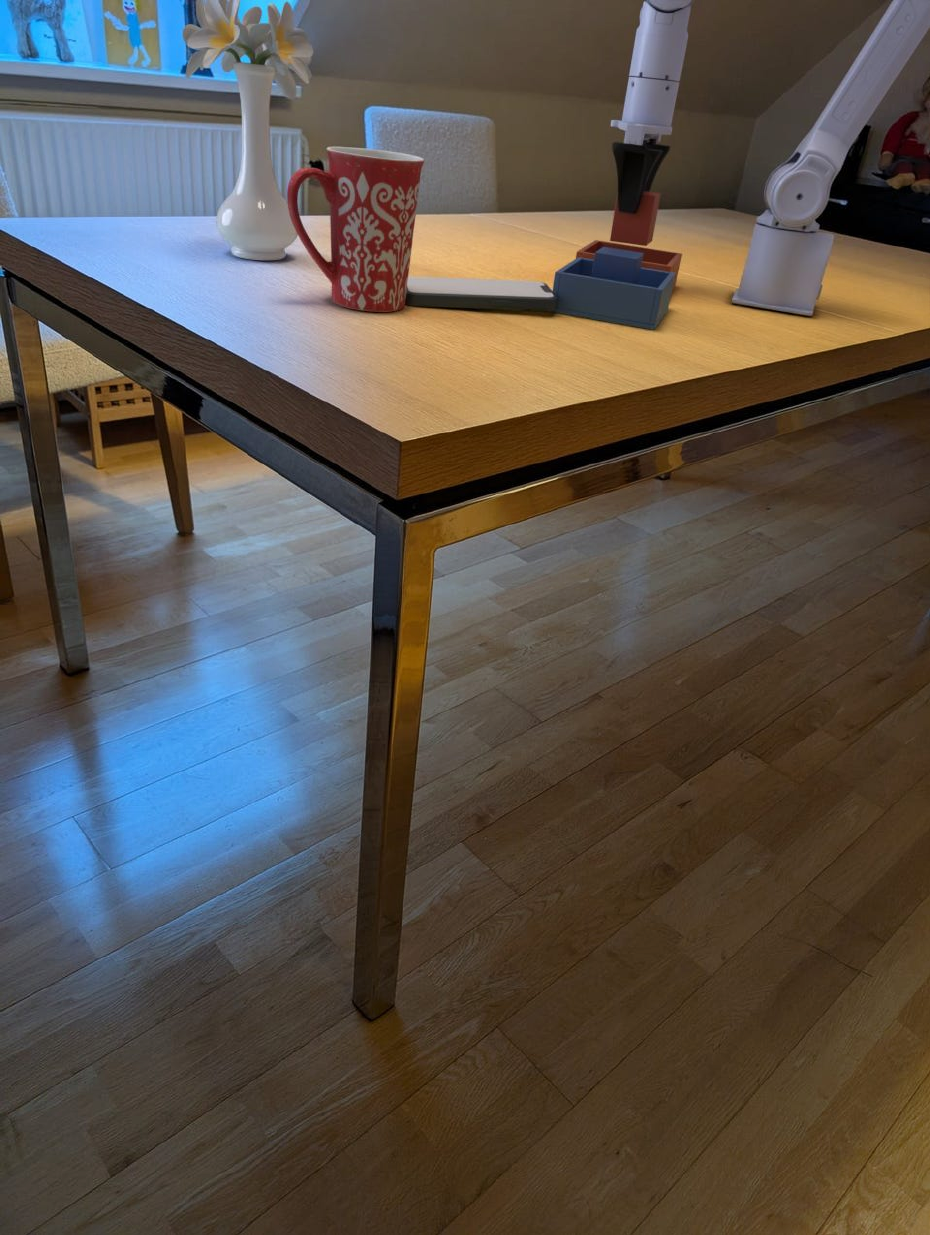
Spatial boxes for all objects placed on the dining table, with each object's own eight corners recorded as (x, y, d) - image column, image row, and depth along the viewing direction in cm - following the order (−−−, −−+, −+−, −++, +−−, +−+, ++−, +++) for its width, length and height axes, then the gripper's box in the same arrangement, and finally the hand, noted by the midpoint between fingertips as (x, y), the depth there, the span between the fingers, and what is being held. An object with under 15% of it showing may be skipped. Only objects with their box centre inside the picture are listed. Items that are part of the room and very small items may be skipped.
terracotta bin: (675, 286, 112) (682, 253, 110) (663, 302, 103) (671, 266, 101) (589, 272, 115) (595, 239, 113) (571, 286, 106) (576, 251, 104)
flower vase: (317, 245, 112) (319, 8, 99) (306, 275, 96) (307, -2, 83) (212, 236, 110) (200, -7, 97) (183, 264, 95) (165, -20, 82)
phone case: (404, 309, 89) (559, 314, 91) (404, 293, 88) (560, 298, 90) (400, 290, 96) (543, 295, 98) (400, 275, 96) (545, 280, 98)
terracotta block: (652, 241, 110) (660, 192, 107) (646, 246, 106) (655, 196, 103) (616, 236, 111) (624, 188, 108) (609, 241, 107) (617, 191, 104)
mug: (400, 293, 93) (408, 150, 86) (425, 315, 86) (436, 161, 79) (280, 290, 89) (278, 140, 82) (296, 313, 82) (296, 150, 75)
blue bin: (668, 310, 100) (675, 273, 98) (654, 330, 91) (662, 289, 89) (572, 293, 102) (578, 257, 100) (549, 311, 93) (555, 271, 91)
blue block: (633, 305, 98) (644, 253, 95) (627, 313, 94) (637, 258, 91) (594, 298, 99) (603, 246, 96) (586, 306, 95) (595, 252, 92)
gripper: (630, 77, 106) (609, 200, 113) (607, 73, 94) (585, 211, 102) (688, 84, 105) (663, 208, 112) (672, 80, 93) (646, 220, 100)
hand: (630, 210), depth 107 cm, fingers closed on terracotta block, 4 cm apart
